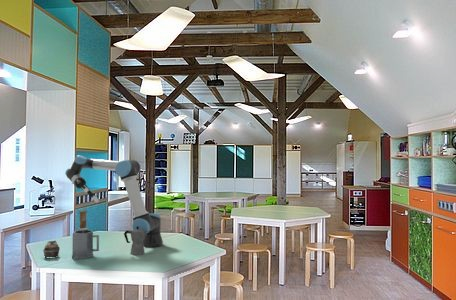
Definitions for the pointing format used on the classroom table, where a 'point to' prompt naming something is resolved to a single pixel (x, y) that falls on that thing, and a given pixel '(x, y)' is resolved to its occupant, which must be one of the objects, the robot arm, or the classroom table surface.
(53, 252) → the cupcake
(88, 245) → the press carafe
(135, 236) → the coffeepot
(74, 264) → the classroom table surface
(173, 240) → the classroom table surface
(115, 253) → the classroom table surface
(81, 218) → the plunger
